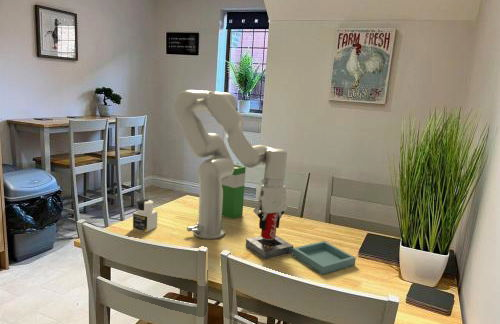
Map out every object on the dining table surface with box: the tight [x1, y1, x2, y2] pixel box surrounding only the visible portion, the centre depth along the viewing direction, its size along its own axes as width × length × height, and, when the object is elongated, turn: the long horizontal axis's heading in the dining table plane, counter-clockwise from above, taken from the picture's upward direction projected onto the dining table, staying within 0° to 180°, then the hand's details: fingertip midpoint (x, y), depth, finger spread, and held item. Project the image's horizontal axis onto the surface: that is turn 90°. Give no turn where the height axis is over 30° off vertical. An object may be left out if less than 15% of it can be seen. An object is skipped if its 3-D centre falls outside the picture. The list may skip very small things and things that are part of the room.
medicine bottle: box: [132, 198, 158, 233], centre depth 150 cm, size 7×7×12 cm
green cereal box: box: [221, 164, 247, 220], centre depth 174 cm, size 18×7×24 cm, turn 54°
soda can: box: [260, 213, 278, 240], centre depth 137 cm, size 6×6×12 cm
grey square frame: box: [245, 235, 294, 261], centre depth 138 cm, size 13×13×3 cm
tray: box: [291, 240, 357, 276], centre depth 132 cm, size 16×16×3 cm
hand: (269, 227), depth 137 cm, fingers closed on soda can, 5 cm apart
